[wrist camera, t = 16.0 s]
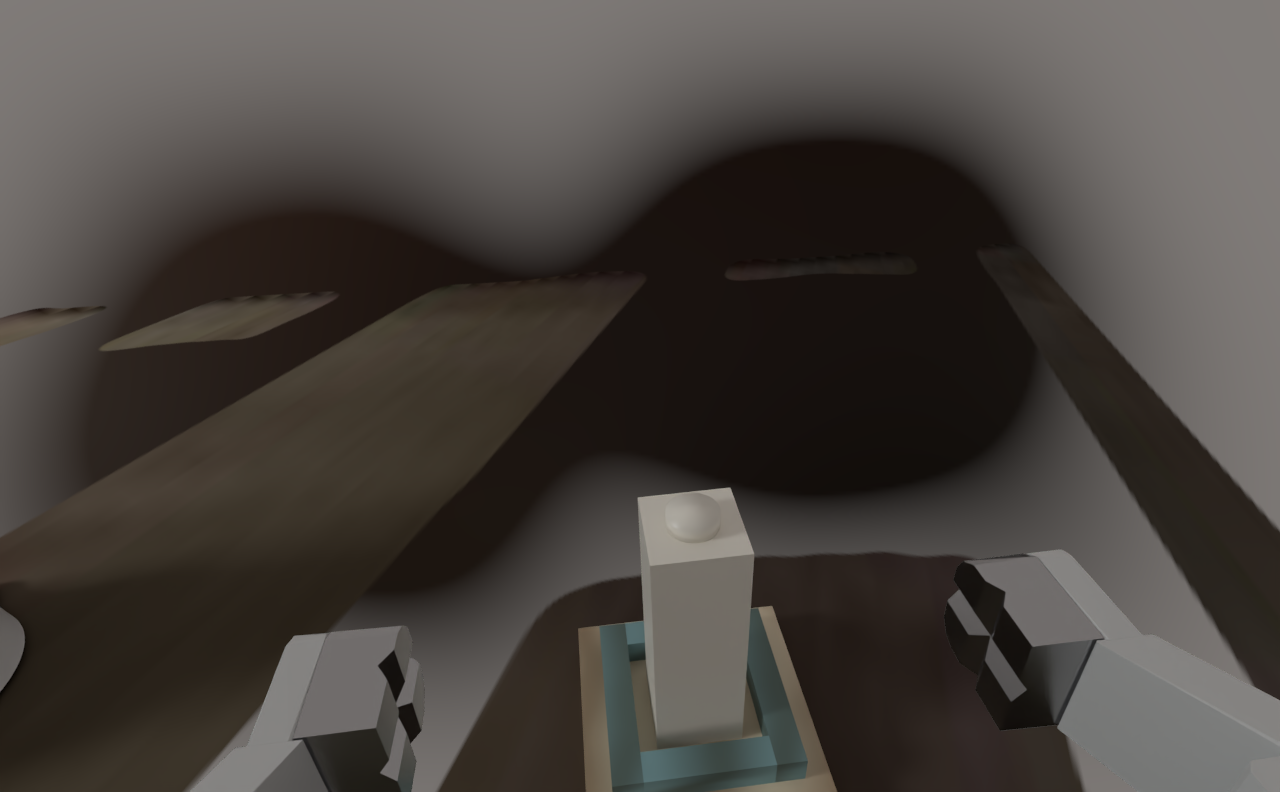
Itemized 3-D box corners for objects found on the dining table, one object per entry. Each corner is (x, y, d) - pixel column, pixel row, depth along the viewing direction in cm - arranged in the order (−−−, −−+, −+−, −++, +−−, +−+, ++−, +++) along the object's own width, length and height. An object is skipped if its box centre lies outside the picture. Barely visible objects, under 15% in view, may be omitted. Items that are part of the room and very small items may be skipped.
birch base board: (591, 858, 33) (585, 819, 32) (581, 650, 44) (576, 611, 42) (836, 823, 34) (844, 784, 33) (770, 627, 45) (773, 588, 43)
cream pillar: (657, 749, 36) (649, 551, 29) (646, 675, 40) (636, 484, 32) (742, 737, 36) (755, 539, 29) (723, 665, 40) (730, 474, 33)
